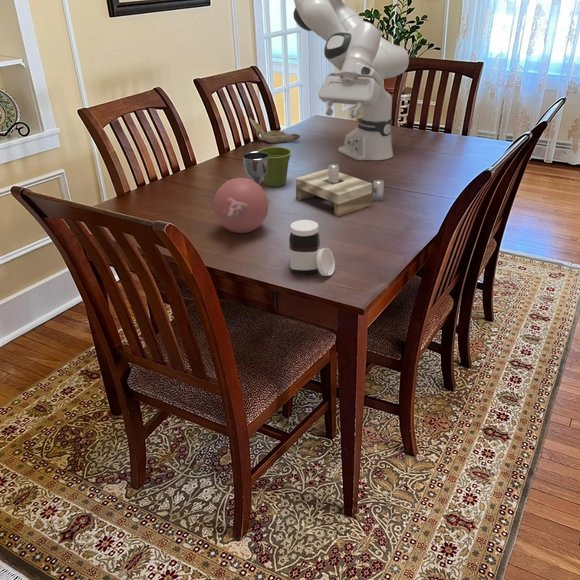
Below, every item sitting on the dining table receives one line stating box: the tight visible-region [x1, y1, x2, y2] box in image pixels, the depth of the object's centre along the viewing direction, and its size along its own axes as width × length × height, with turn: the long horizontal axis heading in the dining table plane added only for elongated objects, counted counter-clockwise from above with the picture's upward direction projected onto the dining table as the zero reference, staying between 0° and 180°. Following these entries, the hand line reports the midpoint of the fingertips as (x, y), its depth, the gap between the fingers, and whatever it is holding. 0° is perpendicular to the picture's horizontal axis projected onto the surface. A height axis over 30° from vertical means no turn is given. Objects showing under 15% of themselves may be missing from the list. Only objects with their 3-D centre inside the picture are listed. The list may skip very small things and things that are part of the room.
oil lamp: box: [248, 117, 301, 144], centre depth 247 cm, size 9×21×10 cm, turn 79°
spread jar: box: [288, 219, 336, 277], centre depth 146 cm, size 12×11×12 cm
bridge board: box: [295, 168, 373, 218], centre depth 186 cm, size 20×14×7 cm
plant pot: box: [256, 146, 293, 187], centre depth 201 cm, size 12×12×11 cm
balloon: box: [213, 177, 269, 234], centre depth 165 cm, size 15×20×15 cm
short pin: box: [372, 179, 385, 202], centre depth 188 cm, size 3×3×6 cm
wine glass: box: [242, 151, 269, 186], centre depth 187 cm, size 8×8×15 cm
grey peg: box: [327, 163, 340, 205], centre depth 185 cm, size 3×3×12 cm
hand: (340, 116), depth 184 cm, fingers open, 8 cm apart
